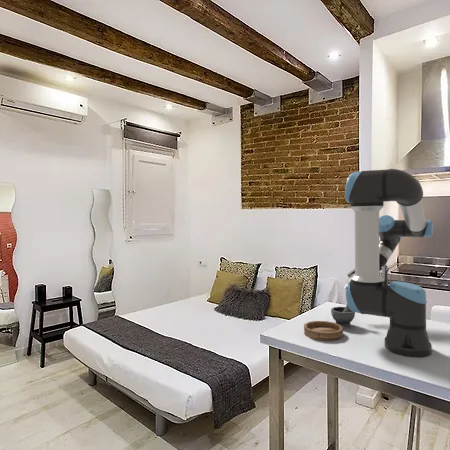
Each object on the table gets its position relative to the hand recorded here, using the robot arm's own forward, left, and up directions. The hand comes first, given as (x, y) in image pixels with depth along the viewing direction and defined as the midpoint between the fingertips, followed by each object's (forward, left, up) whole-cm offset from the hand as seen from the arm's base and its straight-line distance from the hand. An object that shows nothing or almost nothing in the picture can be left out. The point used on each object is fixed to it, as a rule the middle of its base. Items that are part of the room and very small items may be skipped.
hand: (357, 292), depth 158 cm
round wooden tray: (-8, +24, -13) cm, 28 cm away
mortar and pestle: (-2, +9, -13) cm, 16 cm away
